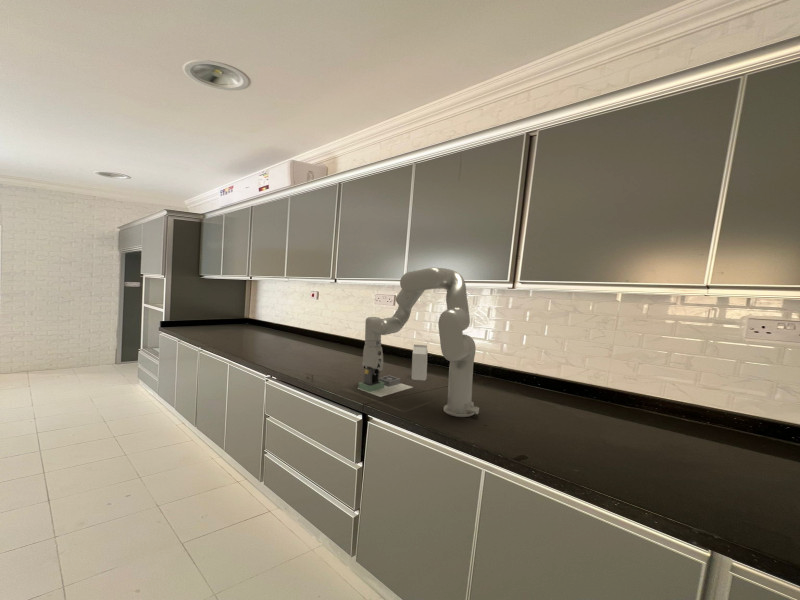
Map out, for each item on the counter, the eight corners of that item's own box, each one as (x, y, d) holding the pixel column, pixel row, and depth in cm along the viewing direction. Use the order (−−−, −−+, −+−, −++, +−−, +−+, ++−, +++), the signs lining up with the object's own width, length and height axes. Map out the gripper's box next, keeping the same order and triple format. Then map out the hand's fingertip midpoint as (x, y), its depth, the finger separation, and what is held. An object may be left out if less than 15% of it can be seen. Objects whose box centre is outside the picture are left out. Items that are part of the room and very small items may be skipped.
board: (413, 389, 170) (413, 382, 170) (380, 399, 154) (380, 391, 154) (389, 382, 181) (390, 375, 181) (356, 390, 165) (357, 383, 165)
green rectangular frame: (384, 387, 167) (384, 382, 167) (369, 391, 160) (369, 386, 160) (373, 384, 172) (373, 379, 172) (358, 388, 165) (358, 382, 165)
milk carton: (424, 382, 182) (426, 346, 181) (411, 381, 184) (412, 345, 183) (426, 379, 189) (427, 344, 188) (413, 377, 191) (414, 343, 190)
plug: (379, 384, 167) (379, 368, 167) (368, 387, 162) (368, 370, 162) (373, 382, 170) (374, 366, 169) (362, 385, 165) (363, 368, 164)
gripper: (391, 345, 162) (389, 384, 163) (367, 340, 174) (366, 376, 174) (379, 346, 157) (377, 387, 158) (355, 341, 168) (354, 379, 169)
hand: (371, 381), depth 166 cm, fingers closed on plug, 3 cm apart
